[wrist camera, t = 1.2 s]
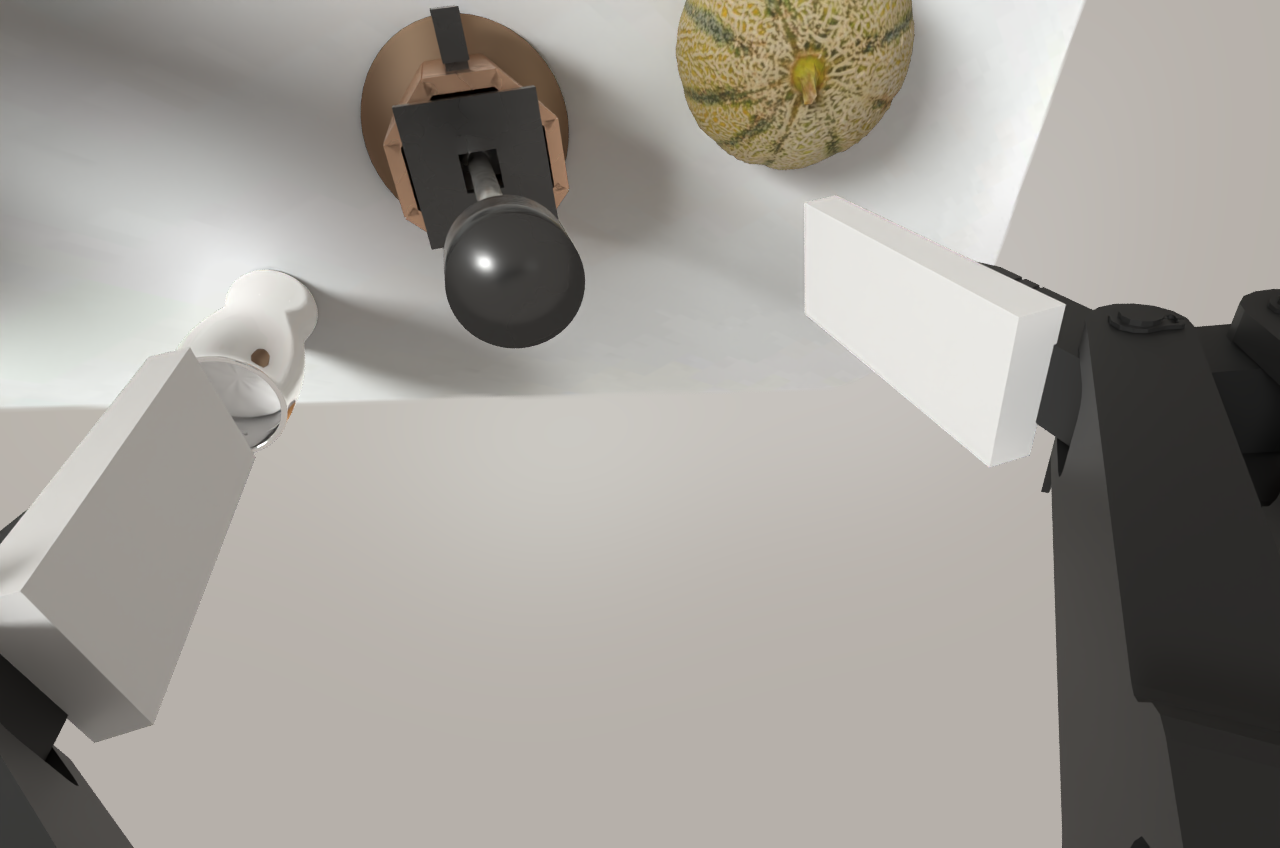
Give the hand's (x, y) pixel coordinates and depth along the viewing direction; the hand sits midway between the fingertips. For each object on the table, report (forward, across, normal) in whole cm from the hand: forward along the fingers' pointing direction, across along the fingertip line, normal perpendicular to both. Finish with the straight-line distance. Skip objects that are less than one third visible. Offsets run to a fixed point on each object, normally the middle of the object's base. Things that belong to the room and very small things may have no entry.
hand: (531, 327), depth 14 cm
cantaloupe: (+39, +21, 0) cm, 44 cm away
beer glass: (+39, -17, -11) cm, 44 cm away
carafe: (+38, 0, 0) cm, 38 cm away
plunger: (+28, 0, -2) cm, 28 cm away
